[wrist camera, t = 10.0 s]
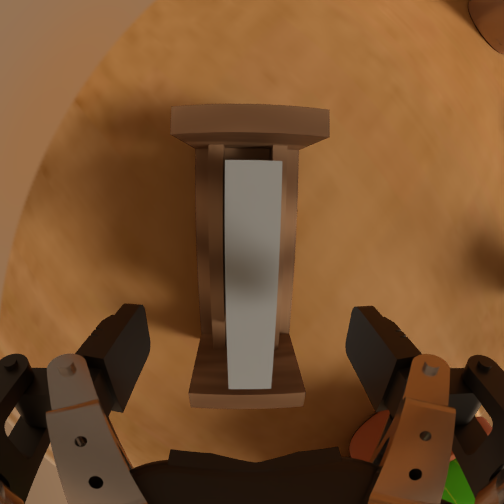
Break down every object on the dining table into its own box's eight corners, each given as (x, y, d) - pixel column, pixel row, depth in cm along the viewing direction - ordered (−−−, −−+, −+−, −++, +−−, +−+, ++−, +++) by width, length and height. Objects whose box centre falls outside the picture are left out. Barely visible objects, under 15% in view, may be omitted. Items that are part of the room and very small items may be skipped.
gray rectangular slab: (232, 167, 21) (225, 159, 11) (263, 167, 21) (282, 160, 11) (232, 310, 24) (228, 389, 14) (260, 310, 24) (271, 388, 15)
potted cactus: (457, 349, 29) (559, 462, 5) (450, 423, 34) (505, 508, 10) (316, 425, 31) (360, 590, 6) (348, 477, 36) (378, 579, 12)
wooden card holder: (198, 132, 21) (171, 106, 12) (296, 133, 21) (329, 109, 13) (204, 340, 26) (190, 407, 17) (286, 339, 26) (303, 406, 18)
